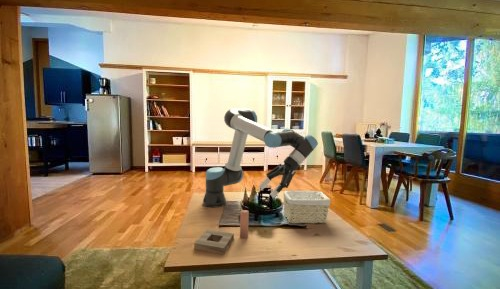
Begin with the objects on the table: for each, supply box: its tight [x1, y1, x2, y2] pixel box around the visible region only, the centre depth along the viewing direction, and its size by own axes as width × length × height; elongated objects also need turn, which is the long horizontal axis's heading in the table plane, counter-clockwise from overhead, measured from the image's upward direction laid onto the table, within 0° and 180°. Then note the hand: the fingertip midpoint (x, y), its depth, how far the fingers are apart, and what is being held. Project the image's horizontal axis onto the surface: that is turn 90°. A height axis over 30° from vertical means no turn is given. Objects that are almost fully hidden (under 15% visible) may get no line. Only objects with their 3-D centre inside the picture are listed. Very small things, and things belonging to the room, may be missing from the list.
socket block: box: [193, 229, 235, 255], centre depth 122 cm, size 14×14×3 cm
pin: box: [239, 209, 250, 240], centre depth 129 cm, size 4×4×13 cm
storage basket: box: [283, 190, 331, 224], centre depth 152 cm, size 24×16×15 cm
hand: (265, 192), depth 129 cm, fingers open, 13 cm apart
